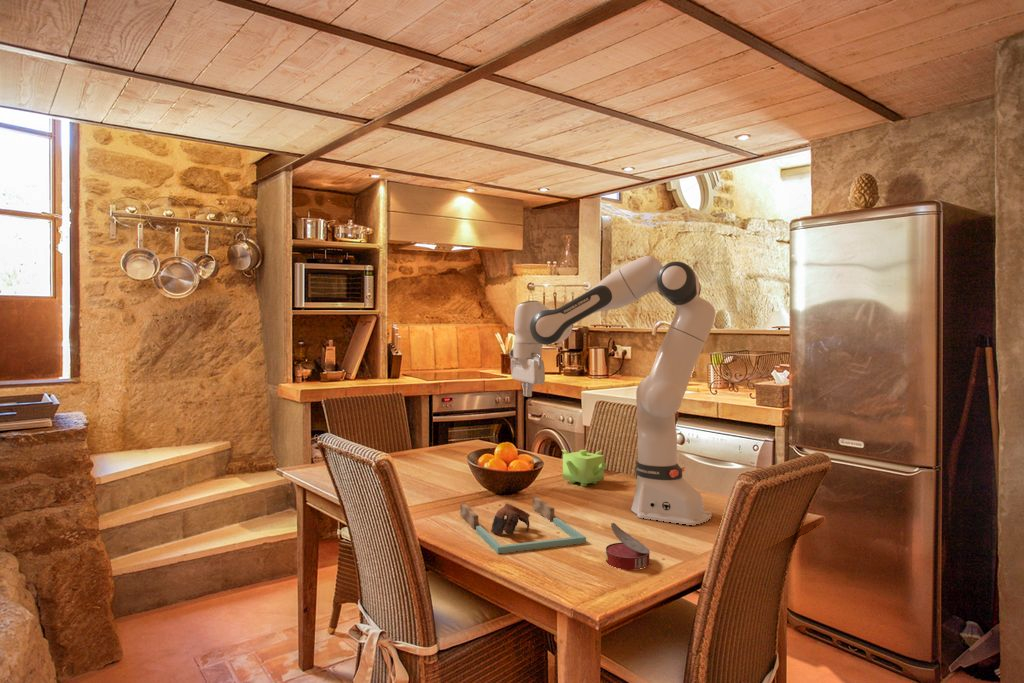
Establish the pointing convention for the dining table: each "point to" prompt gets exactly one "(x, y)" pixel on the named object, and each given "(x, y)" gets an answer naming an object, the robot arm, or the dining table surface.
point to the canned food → (626, 551)
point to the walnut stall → (536, 505)
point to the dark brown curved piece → (509, 519)
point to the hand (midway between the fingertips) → (527, 396)
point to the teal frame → (575, 539)
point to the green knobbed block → (583, 467)
